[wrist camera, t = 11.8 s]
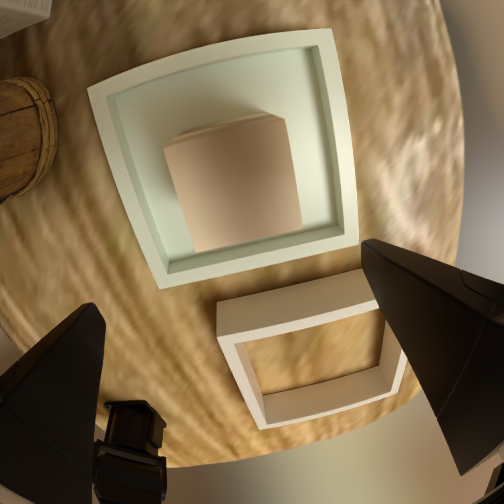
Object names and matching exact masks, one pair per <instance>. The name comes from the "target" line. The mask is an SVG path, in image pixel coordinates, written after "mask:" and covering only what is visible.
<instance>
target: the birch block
mask: <svg viewBox="0 0 504 504" xmlns="http://www.w3.org/2000/svg"><path fill="white" fill-rule="evenodd" d="M163 150H164V153H165V157H166V160H167V164H168V167H169V170H170V174H171V177H172V180H173V183H174V187H175V190H176V193H177V196H178V199H179V202H180V206H181V209H182V212H183V215H184V218H185V221H186V224H187V227H188V230H189V233H190V236H191V239H192V242H193V245H194V248H195V251H196V253H198V252H203V251H207V250H211V249H216V248H220V247H224V246H229V245H233V244H238V243H242V242H247V241H251V240H255V239H260V238H264V237H269V236H273V235H278V234H282V233H287V232H291V231H296V230H300V229H303V223H302V217H301V210H300V203H299V197H298V190H297V184H296V178H295V172H294V166H293V160H292V154H291V149H290V143H289V138H288V132H287V127H286V122H285V119H283V118H281V117H278V116H276V115H273V114H270V113H268V112H261V113H256V114H251V115H246V116H242V117H237V118H233V119H228V120H224V121H220V122H216V123H212V124H208V125H204V126H200V127H196V128H192V129H189V130H185V131H182V132H181V133H180V134H179V135H178V136H176V137H175V138H174V139H173V140H172V141H171V142H169V143H168V144H167V145H166V146H165V147H164V148H163Z"/></svg>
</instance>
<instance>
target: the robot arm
mask: <svg viewBox="0 0 504 504" xmlns="http://www.w3.org/2000/svg"><path fill="white" fill-rule="evenodd" d="M361 265H362V270H363V272H364V274H365V276H366V279H367V281H368V283H369V285H370V288H371V290H372V292H373V295H374V297H375V299H376V302H377V304H378V306H379V308H380V310H381V312H382V314H383V315H384V317H385V319H386V321H387V322H388V324H389V326H390V328H391V329H392V331H393V333H394V335H395V337H396V339H397V340H398V342H399V344H400V346H401V348H402V350H403V352H404V353H405V355H406V357H407V359H408V361H409V363H410V365H411V367H412V369H413V371H414V373H415V375H416V377H417V379H418V381H419V383H420V385H421V387H422V389H423V391H424V393H425V395H426V397H427V399H428V401H429V403H430V405H431V408H432V410H433V412H434V414H435V416H436V417H437V421H438V423H439V425H440V427H441V430H442V432H443V434H444V437H445V439H446V441H447V444H448V446H449V449H450V451H451V453H452V456H453V458H454V461H455V463H456V466H457V469H458V471H459V474H460V475H461V476H463V475H465V474H466V473H468V472H470V471H471V470H473V469H474V468H476V467H477V466H479V465H480V464H482V463H484V462H485V461H486V460H488V459H490V458H491V457H492V456H494V455H495V454H497V453H498V452H499V454H500V456H501V459H502V461H503V463H501V464H500V465H499V466H497V467H496V468H495V469H494V470H493V473H492V476H491V479H490V481H489V484H488V487H487V489H486V492H485V495H484V496H483V497H482V498H480V499H479V500H477V501H476V502H474V503H473V504H504V284H501V283H498V282H495V281H492V280H489V279H485V278H483V277H480V276H477V275H475V274H472V273H469V272H467V271H464V270H461V271H460V269H459V268H456V267H454V266H451V265H448V264H446V263H443V262H440V261H437V260H435V259H432V258H429V257H426V256H424V255H421V254H418V253H415V252H412V251H409V250H407V249H404V248H401V247H398V246H395V245H392V244H389V243H386V242H383V241H380V240H377V239H374V238H373V239H368V240H364V241H362V243H361ZM105 333H106V322H105V320H104V318H103V316H102V315H101V313H100V311H99V310H98V308H97V306H96V305H95V304H94V303H92V302H90V303H85V304H82V305H81V306H80V307H79V308H77V309H76V310H75V311H74V312H73V313H71V314H70V315H69V316H68V317H67V318H65V319H64V320H63V321H62V322H61V323H60V324H58V325H57V326H56V327H55V328H54V329H53V330H51V331H50V332H49V333H48V334H47V335H46V336H44V337H43V338H42V339H41V340H40V341H39V342H38V343H36V344H35V345H34V346H33V347H32V348H31V349H30V350H29V351H28V352H26V353H25V354H24V355H23V356H22V357H21V358H20V359H19V361H17V362H15V364H13V365H12V366H11V367H10V368H9V369H8V370H7V371H6V372H5V373H4V374H2V375H1V376H0V504H92V485H94V503H95V504H161V502H163V501H164V500H165V497H166V491H167V470H166V457H164V456H161V457H160V456H158V448H161V447H162V439H163V428H166V425H167V424H166V423H165V422H164V421H163V420H162V419H161V418H160V416H159V415H158V414H157V413H156V412H155V411H154V410H153V409H152V408H151V407H150V405H149V404H148V403H147V402H144V401H139V402H106V403H104V407H105V408H106V409H107V410H108V411H109V412H110V414H109V419H108V424H107V428H106V433H105V439H104V442H103V441H101V440H99V439H97V441H96V442H94V430H95V420H96V410H97V402H98V394H99V387H100V380H101V373H102V367H103V357H104V344H105Z"/></svg>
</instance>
